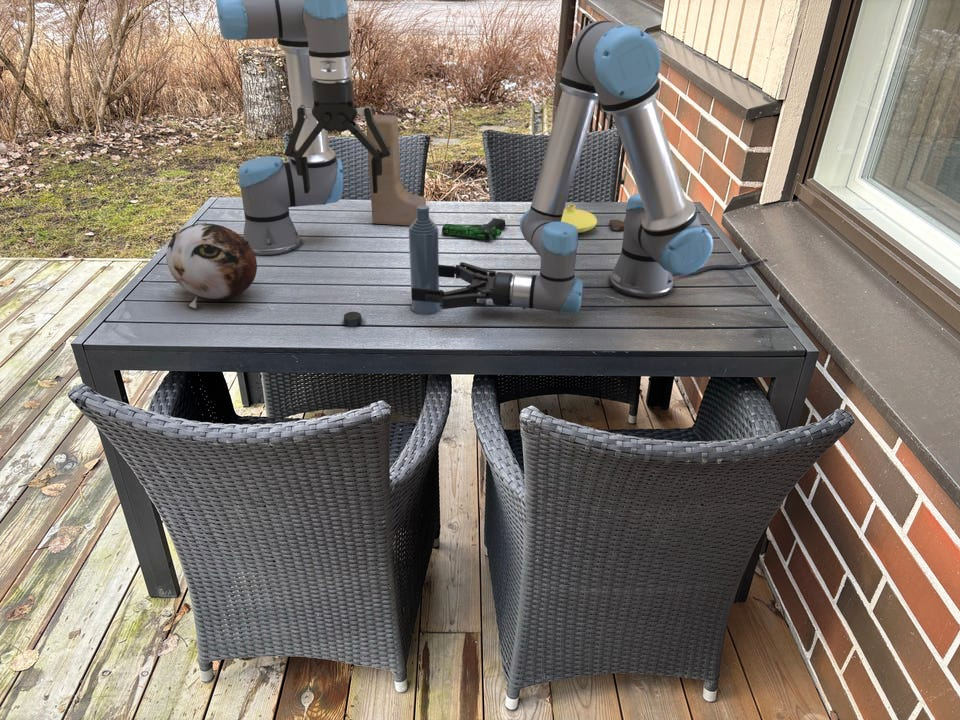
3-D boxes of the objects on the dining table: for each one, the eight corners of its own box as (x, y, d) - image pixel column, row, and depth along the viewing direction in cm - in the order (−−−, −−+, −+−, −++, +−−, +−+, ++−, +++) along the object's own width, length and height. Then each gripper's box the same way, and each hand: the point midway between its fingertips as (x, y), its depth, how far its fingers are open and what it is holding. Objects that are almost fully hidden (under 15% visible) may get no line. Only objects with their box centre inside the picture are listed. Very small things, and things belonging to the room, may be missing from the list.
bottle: (439, 313, 163) (438, 212, 151) (411, 314, 163) (407, 212, 150) (439, 301, 168) (437, 202, 156) (412, 301, 168) (408, 202, 156)
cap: (365, 322, 159) (364, 315, 158) (352, 328, 156) (351, 321, 155) (354, 317, 161) (353, 309, 160) (340, 323, 158) (340, 315, 157)
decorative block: (421, 227, 210) (418, 122, 195) (372, 224, 212) (365, 119, 197) (426, 218, 217) (424, 116, 201) (378, 215, 218) (372, 114, 203)
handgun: (511, 219, 210) (493, 234, 198) (511, 228, 211) (492, 244, 199) (461, 212, 215) (440, 226, 203) (461, 221, 217) (440, 236, 204)
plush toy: (130, 285, 161) (164, 203, 163) (192, 308, 177) (221, 233, 178) (195, 307, 151) (229, 220, 152) (254, 330, 166) (285, 250, 168)
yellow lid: (559, 216, 220) (561, 193, 217) (605, 227, 212) (608, 204, 209) (532, 230, 209) (533, 207, 206) (580, 242, 201) (582, 218, 198)
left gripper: (259, 82, 129) (275, 197, 140) (398, 83, 130) (403, 197, 141) (267, 75, 135) (282, 185, 146) (400, 76, 137) (404, 185, 148)
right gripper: (502, 330, 150) (405, 320, 154) (519, 282, 172) (433, 274, 175) (503, 298, 147) (404, 289, 150) (520, 253, 168) (432, 245, 171)
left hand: (341, 191), depth 144 cm, fingers open, 13 cm apart
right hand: (419, 281), depth 162 cm, fingers open, 13 cm apart
